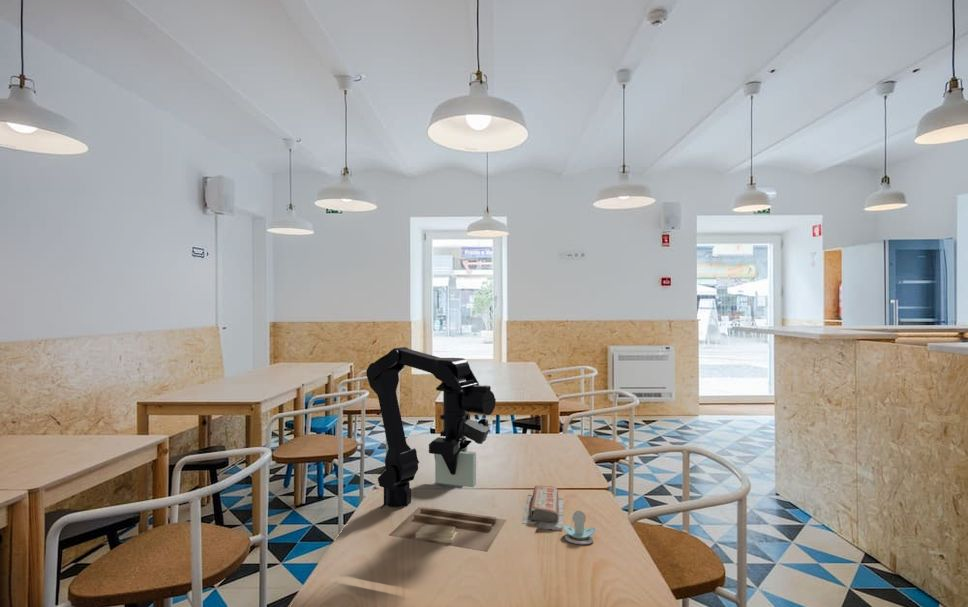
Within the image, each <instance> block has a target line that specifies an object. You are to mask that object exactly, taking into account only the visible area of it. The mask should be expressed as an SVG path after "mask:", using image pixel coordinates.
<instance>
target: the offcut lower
mask: <svg viewBox="0 0 968 607" xmlns="http://www.w3.org/2000/svg"><path fill="white" fill-rule="evenodd" d="M423 528H424V527H421V528H420V529H419V530H418V531H417V532H416V538H420V539H426V540H432V541H438V542H445V543H451V544H452V543H453V542H454V541H455V539H456V538H457V537H458V532H455V533H454V535H453V537H441V536H426V535H422V530H423Z"/></svg>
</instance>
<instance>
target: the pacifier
mask: <svg viewBox="0 0 968 607" xmlns="http://www.w3.org/2000/svg"><path fill="white" fill-rule="evenodd" d="M572 521H573V524H574V527H573V526H571V525H568V524H563V530H564V532H565V533H566V534H567V535H565V536H564V539H565V540H566V541H567V542H569V543H571V544H576V545H590V544H592V543H594V539H593V538H592V537H591V536H593V535H594V533H595V532H596V527H594V526H593V527H592V526H590V527H586V528H585V526H584V525H585V523H586V521H587V518H586V514H585V512H583V511H582V510H575V511H574V513H573V514H572ZM571 537H572V538H571ZM575 539H577V540H575ZM585 539H586V540H585Z"/></svg>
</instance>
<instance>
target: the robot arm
mask: <svg viewBox="0 0 968 607" xmlns="http://www.w3.org/2000/svg"><path fill="white" fill-rule="evenodd" d="M405 366H406V367H410V368H412V369H417V370H420V371H422V372H423V371H424V372H426V373H429V374H431V375H433V376H434V378H435V379H436V380H439V381H441V383H439V385H438V386H437V387H436V388H435V389H436V391H439V392H442V393H443V394H442V395H443V398H442V399H443V400H442V402H443V403H442V404H443V405H442V406H443V407H442V408H443V409H442V412H443V413H441V414H440V415H439V416H440V420H443V423H442V424H443V425H442V427H443V428H442V430H441V431H440V437H436V438H435V439H433V440H432V441H431V442H429V443H428V453H429V454H432V455H434V454H440V455H442V457H443V459H444V461H445V463H446V465H447V467H448V469H449V471H450V473H451V474H452V475H455V474H456V468H457V460H458V454H459V453H460V452H461V451H464V450H465V448H466V447H467V448H468V446H469V445H470V444H471V443H472V441H473V442H475V444H479V445H483V443H484V442H485V441H486V440H487V437H488V435H489V433H490V432H491V429H490V428H491V427H490V426H489V420H488V419H486V418H485V417H482V418H481V419H479V420H478V421H477V420H476V419H475V420H473V419H471V414H477V415H483V416H490V415H492V413H493V412H494V410H495V407H496V401H497V400H496V398H495V395H494V392H493V391H491V390H492V389H491V385H487V384H486V385H481V384H479V380H478V379H477V377H476V376H475V374H474V373H473V371H472V369H471V366H470V364H469V362H468V359H466V358H464V357H440V356H435V355H432V354H429V353H425V352H421V351H418V350H417V351H416V350H414V349H410V348H408V347H406V346H404V347H394V348H393V349H392V350H390V351H389V352H388V353H387V354H385V355H384V356H382V357H380V358H378V359H376V360H375V361H374V362H371V363H370V364H369V365H368V367H367V369H366V370H365V373H366V377H367V380H368V381H367V382H368V385H369V386H370V389H371V390H372V391H373V392H374V393H375V394H376V395H377V398H378V403H379V409H380V413H381V419H382V423H383V429H384V434H385V438H386V443H387V452H386V455H385V458H384V464H385V466H384V467H385V470H383V472H382V473H381V474H380V475H379V476H378V477H377V481H378V482H377V483H378V486H379V487H381V488H383V503H382V504H381V506H380V509H381V510H382V509H383V508H384V507H386V506H387V507H391V508H400V507H408V506H409V505H410V504H411V503H412V488H410V487H411V486H410V485H411V484H410V482H412V481H414V479H415V476H416V474H417V472H418V470H419V464H420V461H419V459H418V453H417V449H416V448H414V447H413V448H411V446H410V445H408V444H407V440H406V434H405V429H404V425H403V421H402V415H401V411H400V405H399V400H398V396H397V388H398V385H399V382H400V378H399V377H400V375H399V373H400V372H401V371H403V369H404V368H405ZM470 413H471V414H470ZM467 439H469V440H467Z"/></svg>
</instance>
